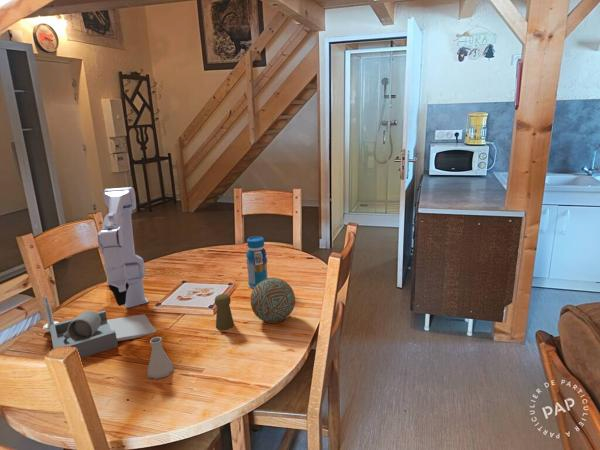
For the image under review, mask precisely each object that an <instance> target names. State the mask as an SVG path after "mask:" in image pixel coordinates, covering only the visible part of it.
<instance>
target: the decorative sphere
mask: <svg viewBox="0 0 600 450" xmlns="http://www.w3.org/2000/svg"><path fill="white" fill-rule="evenodd" d="M295 304H296V296H295V291H294V290H293V287H292V286H291V285H290V284H289V283H288V282H286V281H285V280H283V279H281V278H278V277H268V278H267V279H265V280H263V281H261V282H259V283H258V284H257V285H256V286H255V288H252V291H251V294H250V306H251V309H252V312H253V313H254V315H255V316H256V317H257V318H258V319H259V320H261V321H263V322H265V323H269V324H276V323H280V322H283V321H285V320H286V319H288V318H289V317H290V315H291V314H292V313H293V311H294V308H295Z"/></svg>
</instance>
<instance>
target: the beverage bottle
mask: <svg viewBox="0 0 600 450" xmlns="http://www.w3.org/2000/svg"><path fill="white" fill-rule="evenodd" d="M246 244H247V248H248V249H247V251H246V255H245V257H246V258H247V259H246V266H247V278H248V281H247V282H248V286H249V287H250V288H251V289H254V288H255V286H256V285H257V284H258V283H259V282H261V281H263V280H265V279H267V278H269V277H268V275H269V274H268V258H267V255H268V254H267V251H266V249H265V248H264V246H265V238H264V237H262V236H258V235H257V236H250V237H248V238H247V240H246Z"/></svg>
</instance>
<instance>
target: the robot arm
mask: <svg viewBox="0 0 600 450" xmlns="http://www.w3.org/2000/svg"><path fill="white" fill-rule="evenodd" d="M136 197H137V196H136V191H135V189H134V187H132V186H129V187H116V188H113V187H112V188H105V189H104V190H103V201H104V204H105V205H106V207H107V208H108V213H106V215H105V216H104V217H103V223H102V228H101V230H100V231H99V232H98V233H97V244H98V246H99V247H98V248H99V250H100V254H101V255H102V256H103V257H102V258H103V262H104V267H105V274H106V278H107V279H106V283H107V284H108V285H107V287H108V288H109V291H111V292H112V293H113V296H114V299H115V302H116V303H117V305H118V307H121V306H123V305H124V306H125V308H126V309H129V308H133V307H136V306H140V305H143V304H144V305H145V304H148V303H149V300H148V299H147V296H145V289H144V283H143V279H145V278H146V265H145V261H144V259H143V258H142V257H141V256H140V255H138V254H136V251H135V250H136V249H135V241H134V234H133V233H134V232H133V221H132V214H133V213H132V212H133V211H134V210H135V209H137V200H136Z"/></svg>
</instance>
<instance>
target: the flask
mask: <svg viewBox="0 0 600 450" xmlns="http://www.w3.org/2000/svg"><path fill="white" fill-rule="evenodd" d="M162 341H163V338H162V337H161V336H154V337H152V338H151V339H150V340H149V343H150V345H151V353H150V359H149V363H148V366H147V371H146V373H147V378H148V379H156V380H157V379H162V378H165V377H168V376H170V374H171V373H172V372H173V371H174V365H173V362H172V361H171V360H170V358H169V357H168V355H167V353H166V351H165V350H164V347H163V345H162Z"/></svg>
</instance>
